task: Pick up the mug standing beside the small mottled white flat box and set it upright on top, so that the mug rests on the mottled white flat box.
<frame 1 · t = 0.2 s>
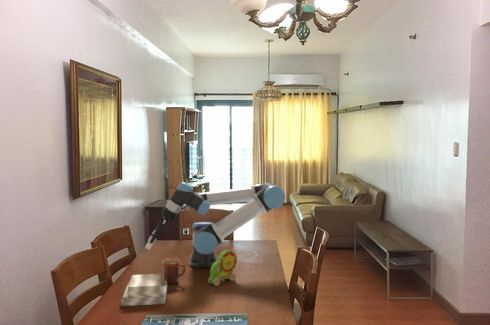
hand: (148, 245, 214), 15 cm above the table, tool tilted 35°, fingers open, 13 cm apart
mug: (174, 282, 204), on the table
mottled white flat box: (145, 296, 187), on the table
toy lion: (223, 282, 205), on the table
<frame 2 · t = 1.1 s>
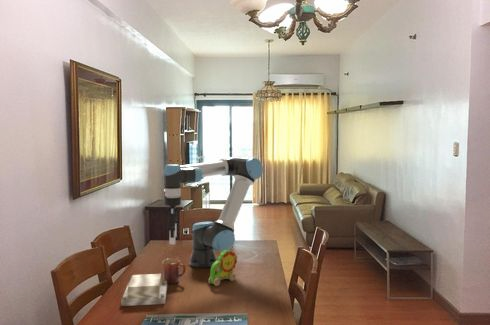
hand: (173, 240, 203), 21 cm above the table, tool pointing down, fingers open, 13 cm apart
nothing on the table moved.
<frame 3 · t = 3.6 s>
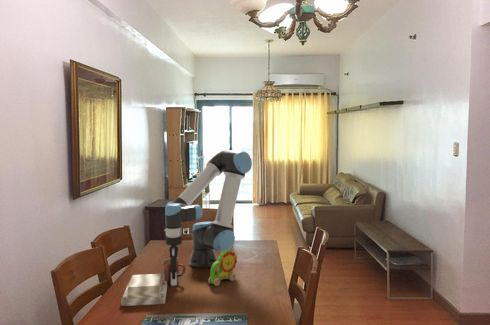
hand: (174, 281, 204), 0 cm above the table, tool pointing down, fingers open, 8 cm apart
mug: (174, 282, 204), on the table, touching gripper
everything else where it was.
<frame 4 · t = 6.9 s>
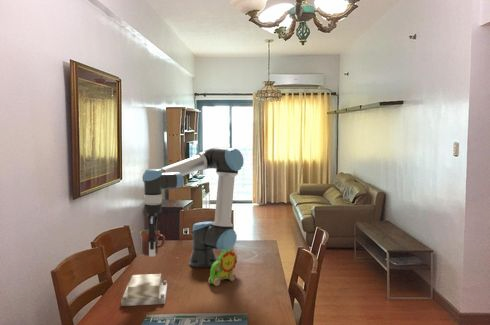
hand: (153, 253, 190), 18 cm above the table, tool pointing down, fingers closed on mug, 7 cm apart
mug: (152, 254, 190), point 18 cm above the table, touching gripper
everything else where it was.
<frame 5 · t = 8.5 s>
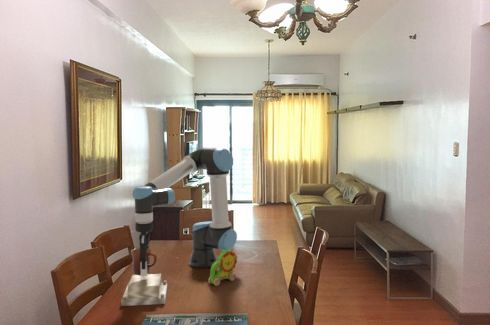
hand: (144, 272, 186), 11 cm above the table, tool pointing down, fingers closed on mug, 7 cm apart
mug: (144, 274, 185), point 10 cm above the table, touching gripper
everything else where it was.
when the fingers open (9 cm above the table, at t = 9.7 s): mug drops 1 cm, resting on mottled white flat box.
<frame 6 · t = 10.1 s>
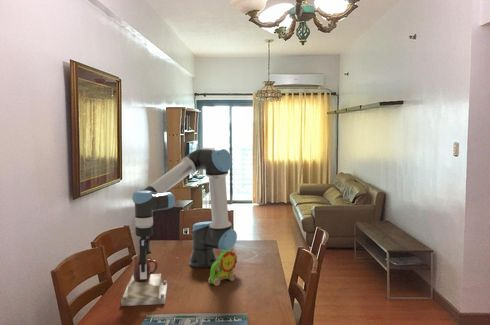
hand: (145, 273, 186), 10 cm above the table, tool pointing down, fingers open, 13 cm apart
mug: (145, 280, 186), point 7 cm above the table, touching mottled white flat box
everything else where it was.
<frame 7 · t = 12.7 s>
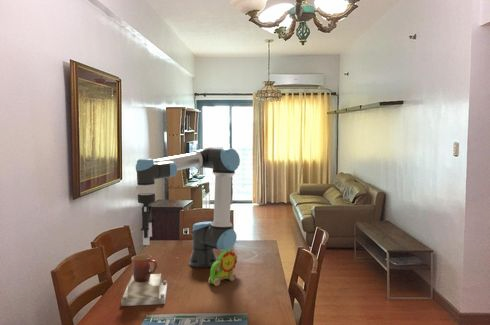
hand: (147, 240, 188), 25 cm above the table, tool pointing down, fingers open, 13 cm apart
nothing on the table moved.
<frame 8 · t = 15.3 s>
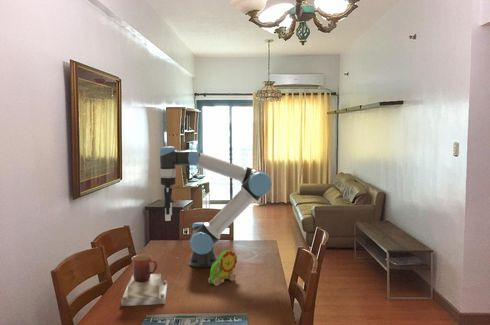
hand: (168, 217, 216), 29 cm above the table, tool pointing down, fingers open, 13 cm apart
nothing on the table moved.
at the end: mug inside the target area on the mottled white flat box (0.4 cm from its centre), point 7.3 cm above the mottled white flat box's base; mug tilted 0°; the gripper is holding nothing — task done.
